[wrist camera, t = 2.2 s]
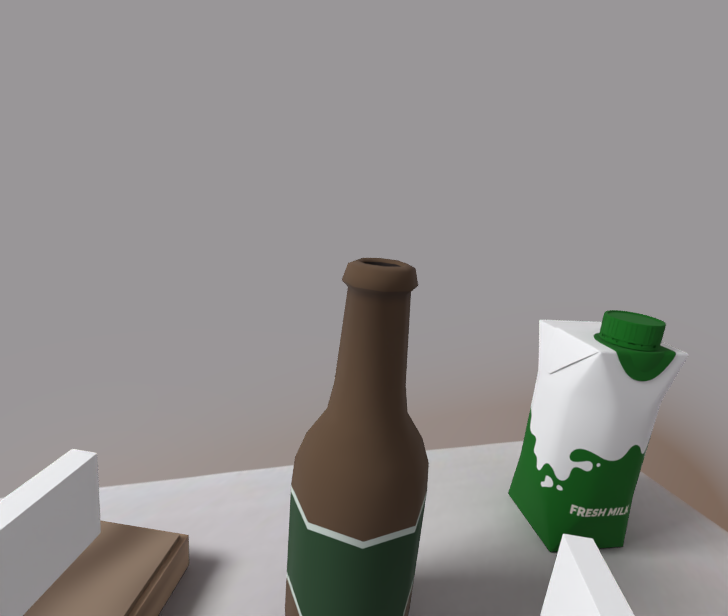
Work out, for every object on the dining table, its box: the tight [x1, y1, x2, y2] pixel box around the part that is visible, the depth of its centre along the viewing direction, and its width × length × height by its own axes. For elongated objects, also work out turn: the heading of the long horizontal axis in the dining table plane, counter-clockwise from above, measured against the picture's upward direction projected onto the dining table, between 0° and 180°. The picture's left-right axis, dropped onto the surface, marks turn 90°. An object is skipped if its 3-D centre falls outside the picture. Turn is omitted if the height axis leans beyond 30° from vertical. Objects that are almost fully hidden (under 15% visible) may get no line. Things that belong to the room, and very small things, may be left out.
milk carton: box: [508, 310, 688, 552], centre depth 37 cm, size 9×9×20 cm
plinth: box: [23, 521, 189, 616], centre depth 26 cm, size 10×10×3 cm
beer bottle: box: [285, 258, 429, 616], centre depth 24 cm, size 8×8×24 cm
